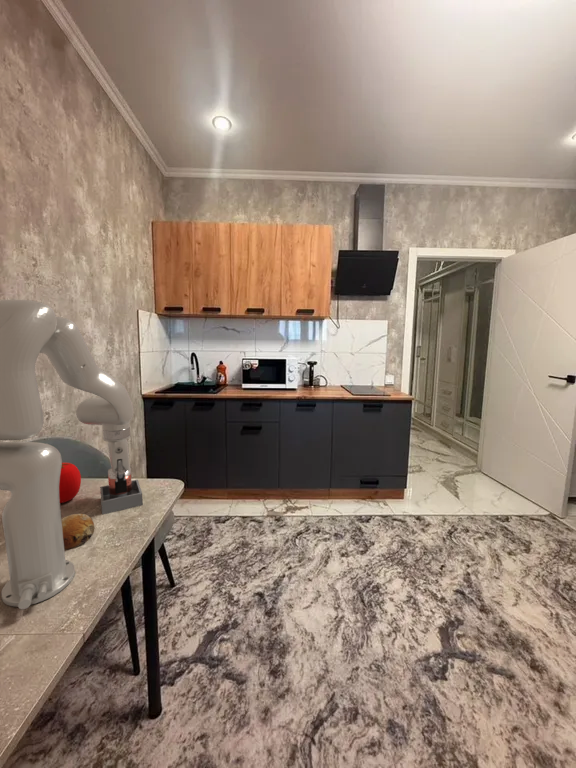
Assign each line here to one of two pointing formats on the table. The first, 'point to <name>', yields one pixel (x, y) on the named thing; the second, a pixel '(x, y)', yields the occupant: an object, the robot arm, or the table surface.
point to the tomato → (69, 482)
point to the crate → (121, 499)
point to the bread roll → (76, 530)
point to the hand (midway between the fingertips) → (120, 487)
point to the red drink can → (112, 484)
